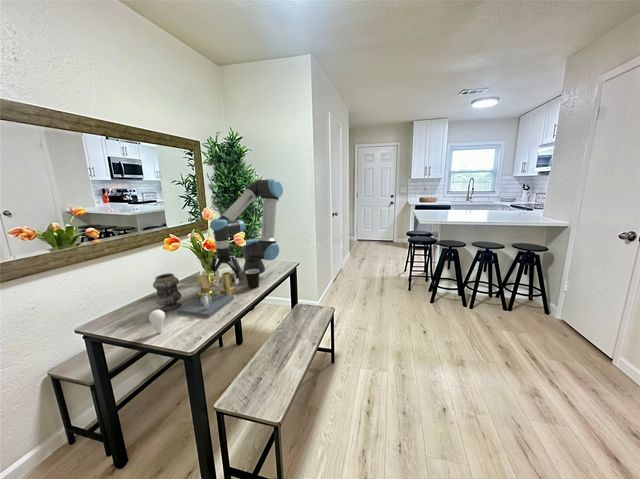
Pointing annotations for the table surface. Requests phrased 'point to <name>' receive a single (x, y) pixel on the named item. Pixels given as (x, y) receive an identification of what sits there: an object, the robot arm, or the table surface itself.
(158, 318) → the lightbulb
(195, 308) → the carrier plate
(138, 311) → the table surface
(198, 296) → the seated planet gear
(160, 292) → the apothecary jar
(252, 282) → the coffee mug
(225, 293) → the gear
